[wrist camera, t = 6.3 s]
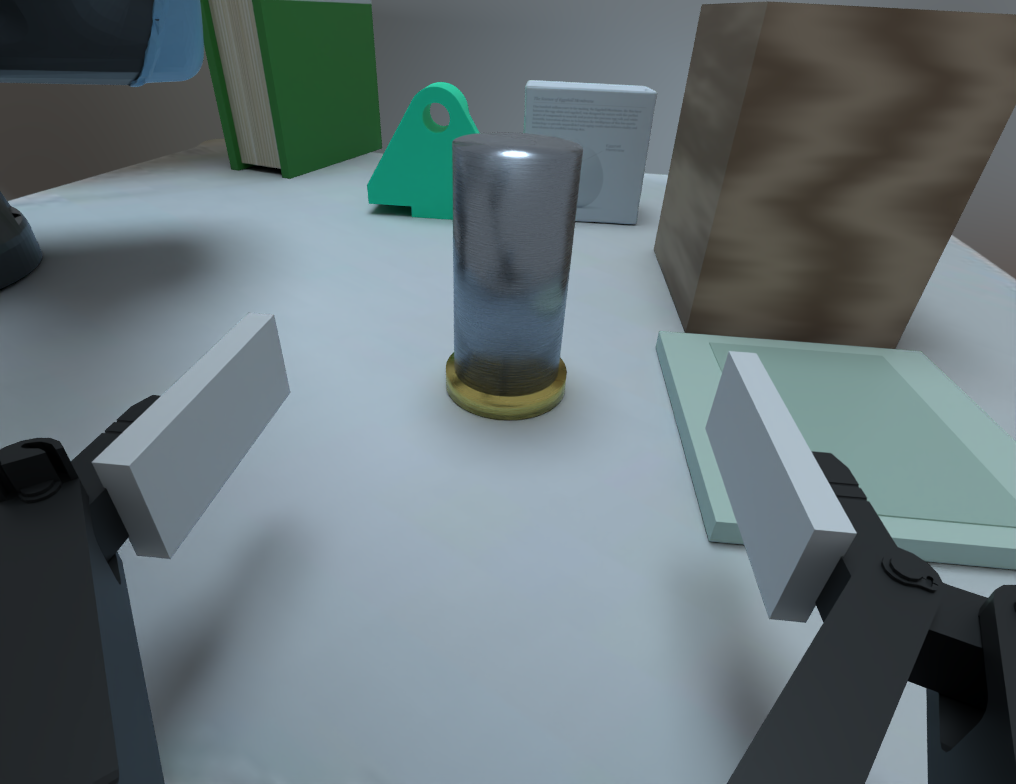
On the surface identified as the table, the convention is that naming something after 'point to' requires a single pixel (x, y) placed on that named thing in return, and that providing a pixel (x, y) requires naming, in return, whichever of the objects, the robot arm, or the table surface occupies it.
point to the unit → (826, 164)
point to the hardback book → (293, 81)
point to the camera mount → (423, 155)
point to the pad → (865, 440)
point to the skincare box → (598, 140)
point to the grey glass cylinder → (511, 270)
